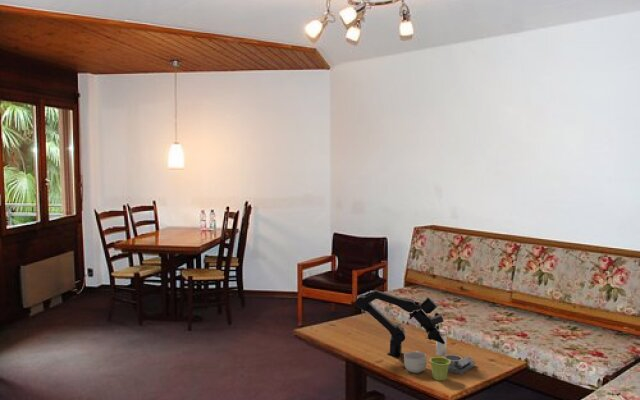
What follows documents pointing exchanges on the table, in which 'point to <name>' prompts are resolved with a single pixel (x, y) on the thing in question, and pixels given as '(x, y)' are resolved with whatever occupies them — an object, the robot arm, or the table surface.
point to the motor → (459, 364)
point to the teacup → (415, 361)
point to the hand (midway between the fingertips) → (444, 341)
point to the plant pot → (440, 368)
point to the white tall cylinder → (439, 346)
